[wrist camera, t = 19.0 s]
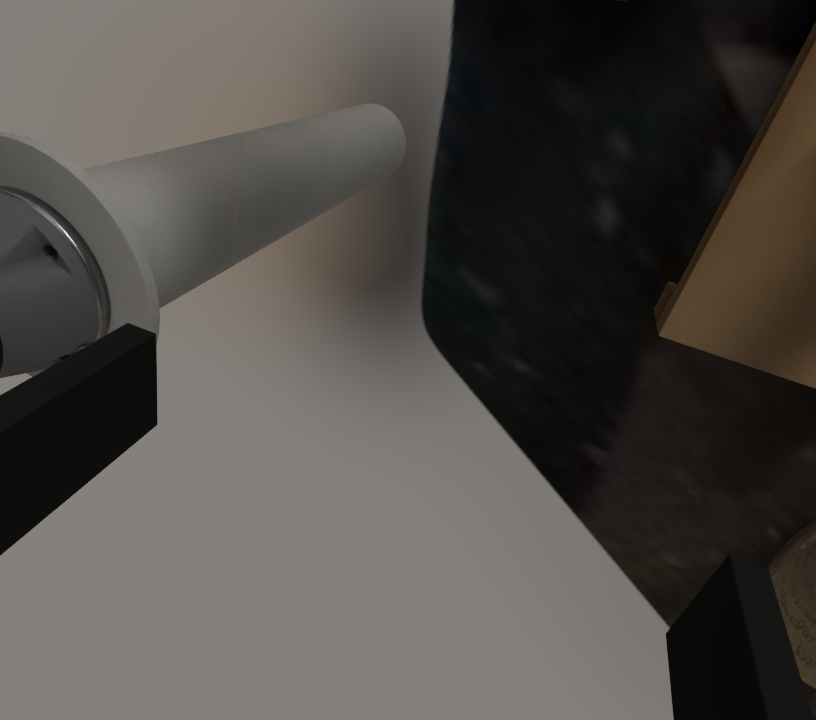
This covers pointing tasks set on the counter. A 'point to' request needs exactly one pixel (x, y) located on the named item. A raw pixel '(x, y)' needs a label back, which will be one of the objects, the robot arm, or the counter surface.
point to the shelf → (760, 248)
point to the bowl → (798, 597)
